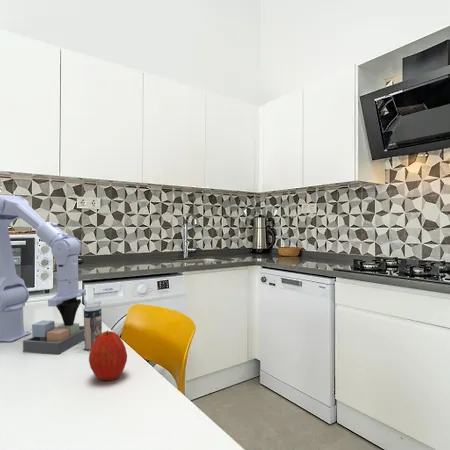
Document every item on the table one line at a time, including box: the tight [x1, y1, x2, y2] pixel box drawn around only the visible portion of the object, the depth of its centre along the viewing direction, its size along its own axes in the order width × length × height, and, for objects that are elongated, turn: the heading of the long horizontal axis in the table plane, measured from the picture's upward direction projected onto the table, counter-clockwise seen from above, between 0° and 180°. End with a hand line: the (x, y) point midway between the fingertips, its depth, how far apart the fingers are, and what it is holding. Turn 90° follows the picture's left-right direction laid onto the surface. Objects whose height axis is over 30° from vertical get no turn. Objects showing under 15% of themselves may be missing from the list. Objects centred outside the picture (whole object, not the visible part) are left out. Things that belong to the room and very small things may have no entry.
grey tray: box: [22, 325, 84, 355], centre depth 102 cm, size 11×15×3 cm
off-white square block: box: [55, 322, 64, 329], centre depth 103 cm, size 4×4×3 cm
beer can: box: [83, 303, 103, 351], centre depth 98 cm, size 5×5×12 cm
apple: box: [88, 330, 128, 381], centre depth 79 cm, size 8×8×11 cm
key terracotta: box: [47, 328, 69, 342], centre depth 98 cm, size 4×4×3 cm
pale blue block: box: [31, 320, 56, 337], centre depth 99 cm, size 4×4×3 cm
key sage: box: [58, 322, 80, 336], centre depth 103 cm, size 4×4×3 cm
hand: (68, 325), depth 102 cm, fingers closed, pressing on key sage
